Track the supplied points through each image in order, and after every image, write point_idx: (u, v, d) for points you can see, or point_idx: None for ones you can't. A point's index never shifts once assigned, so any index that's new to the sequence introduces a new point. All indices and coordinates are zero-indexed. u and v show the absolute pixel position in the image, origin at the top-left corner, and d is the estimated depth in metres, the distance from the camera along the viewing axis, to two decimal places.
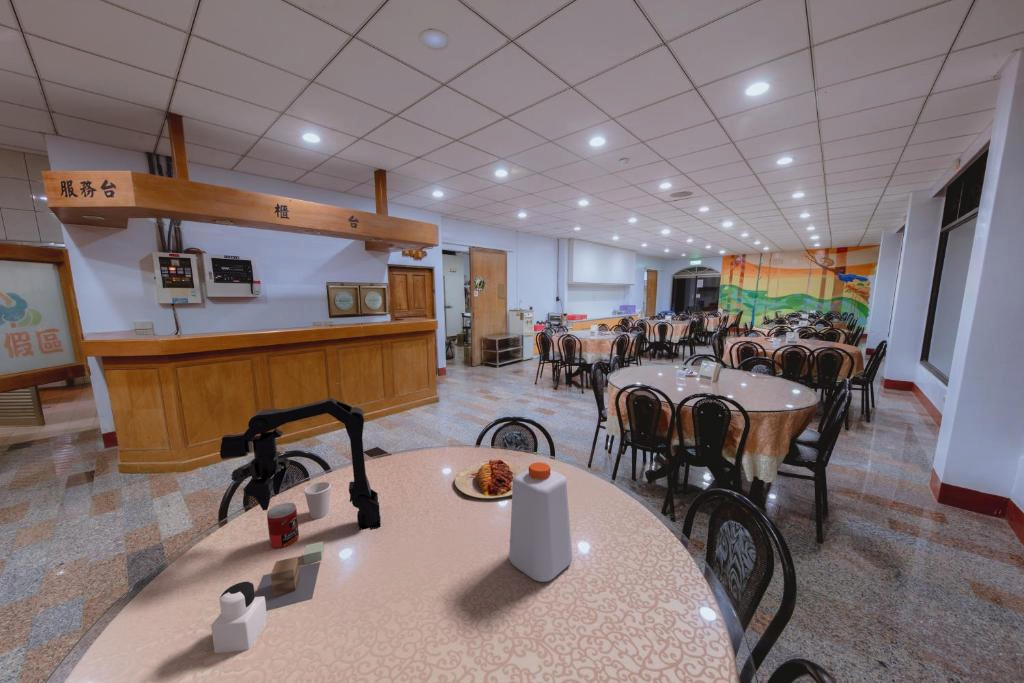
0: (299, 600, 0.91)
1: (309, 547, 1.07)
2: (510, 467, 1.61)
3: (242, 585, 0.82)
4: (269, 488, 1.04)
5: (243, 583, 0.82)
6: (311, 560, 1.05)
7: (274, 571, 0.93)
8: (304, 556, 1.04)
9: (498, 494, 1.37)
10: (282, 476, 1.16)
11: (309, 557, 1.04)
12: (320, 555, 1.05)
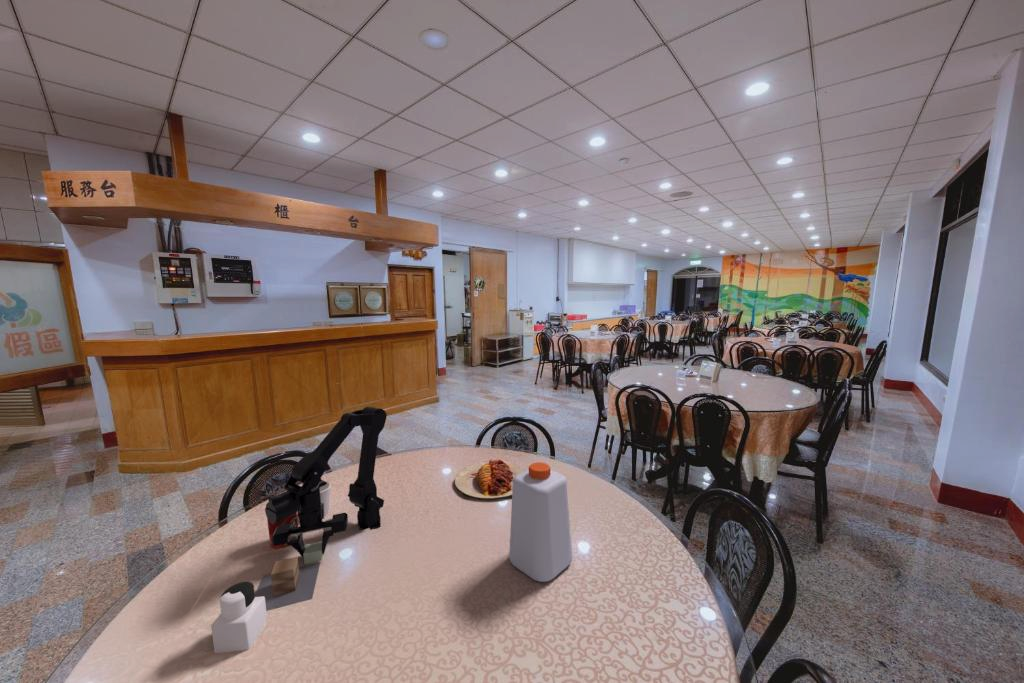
0: (299, 600, 0.91)
1: (309, 546, 1.07)
2: (510, 467, 1.61)
3: (242, 585, 0.82)
4: (276, 543, 1.00)
5: (243, 583, 0.82)
6: (311, 559, 1.05)
7: (274, 571, 0.93)
8: (304, 555, 1.04)
9: (498, 494, 1.37)
10: (322, 539, 1.05)
11: (309, 556, 1.04)
12: (320, 554, 1.05)
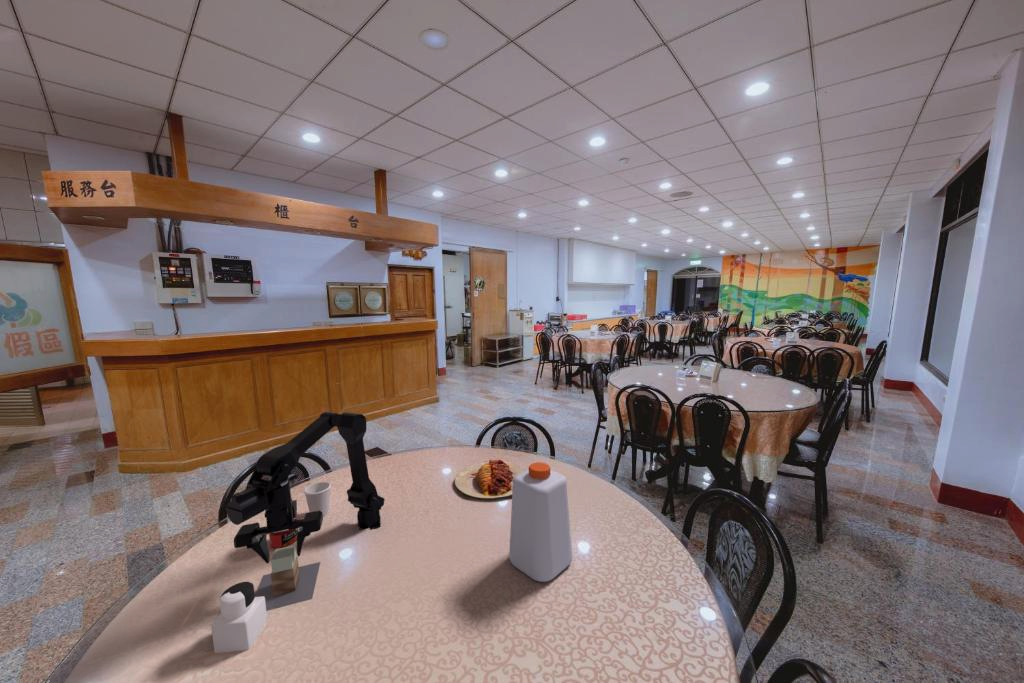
0: (299, 600, 0.91)
1: (279, 551, 0.95)
2: (510, 467, 1.61)
3: (242, 585, 0.82)
4: (238, 545, 0.88)
5: (243, 583, 0.82)
6: (280, 566, 0.93)
7: None
8: (272, 562, 0.92)
9: (498, 494, 1.37)
10: (297, 539, 0.94)
11: (278, 562, 0.93)
12: (290, 560, 0.94)
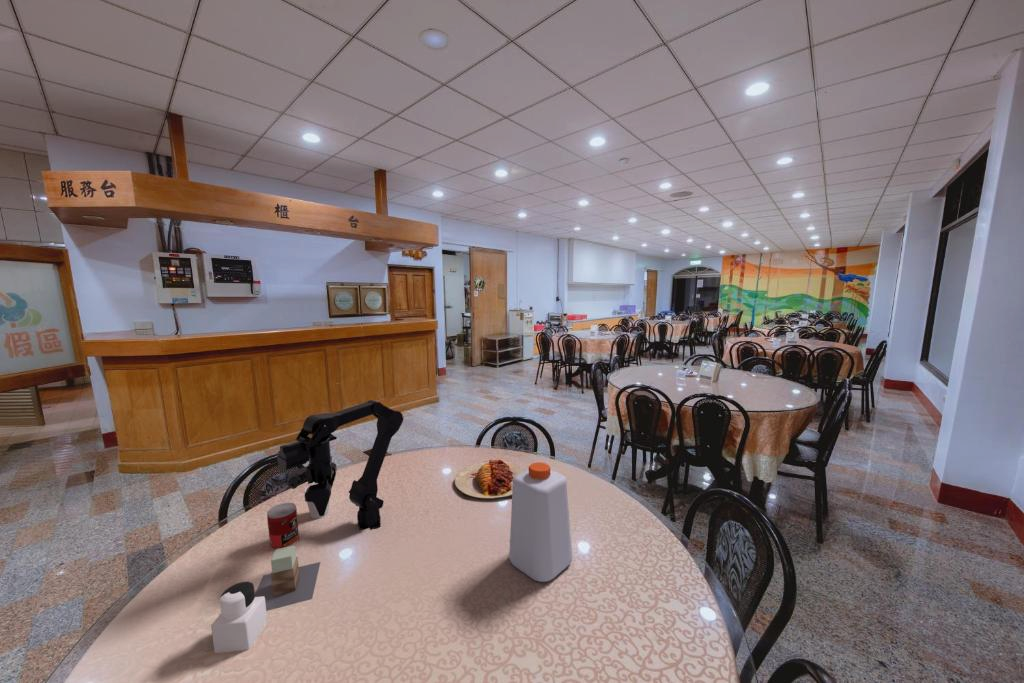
0: (299, 600, 0.91)
1: (279, 551, 0.95)
2: (510, 467, 1.61)
3: (242, 585, 0.82)
4: (329, 493, 1.03)
5: (243, 583, 0.82)
6: (280, 566, 0.93)
7: None
8: (272, 562, 0.92)
9: (498, 494, 1.37)
10: (331, 481, 1.15)
11: (278, 562, 0.93)
12: (290, 560, 0.94)
